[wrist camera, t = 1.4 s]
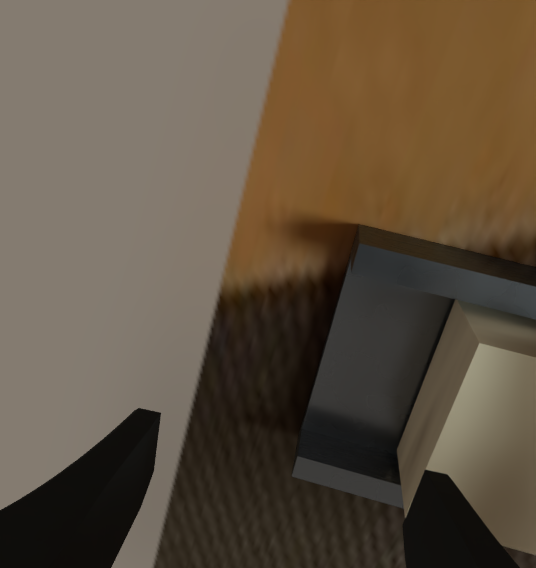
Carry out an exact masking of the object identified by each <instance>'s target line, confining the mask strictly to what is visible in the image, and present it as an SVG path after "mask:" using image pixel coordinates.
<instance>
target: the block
mask: <svg viewBox="0 0 536 568" xmlns="http://www.w3.org/2000/svg"><path fill="white" fill-rule="evenodd" d="M397 456H398V464H399V472H400V480H401V488H402V497H403V505H404V513H405V518H406V515H407V513H408V510H409V508H410V506H411V503H412V501H413V498H414V496H415V493H416V491H417V488H418V486H419V483H420V481H421V478H422V476H423V473H424V471H425V470H430V471H435V472H439V473H444V474H448V475H449V477H450V478H451V479H452V480H453V482H454V483H455V484H456V486H457V487H458V488H459V490H460V491H461V492H462V494H463V495H464V497H465V498H466V499H467V501H468V502H469V503H470V505H471V506H472V507H473V509H474V510H475V511H476V513H477V514H478V515H479V517H480V518H481V519H482V521H483V522H484V523H485V525H486V526H487V527H488V529H489V530H490V531H491V533H492V534H493V535H494V536H495V538H496V539H497V540H498V542H499V543H500V544H501V545H502V546H506V547H509V548H513V549H516V550H520V551H523V552H527V553H530V554H534V555H536V319H532V318H528V317H524V316H520V315H516V314H512V313H508V312H504V311H500V310H496V309H492V308H488V307H484V306H480V305H476V304H472V303H468V302H464V301H460V300H456V299H455V302H454V304H453V307H452V309H451V312H450V315H449V317H448V320H447V322H446V325H445V327H444V330H443V333H442V335H441V338H440V340H439V343H438V345H437V348H436V351H435V353H434V356H433V358H432V361H431V363H430V366H429V369H428V371H427V374H426V376H425V379H424V381H423V384H422V387H421V389H420V392H419V394H418V397H417V399H416V402H415V404H414V407H413V410H412V412H411V415H410V417H409V420H408V422H407V425H406V428H405V430H404V433H403V435H402V438H401V440H400V443H399V446H398V448H397Z"/></svg>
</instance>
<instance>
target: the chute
mask: <svg viewBox="0 0 536 568" xmlns="http://www.w3.org/2000/svg"><path fill="white" fill-rule="evenodd" d="M455 299H456V300H460V301H464V302H468V303H472V304H476V305H480V306H484V307H488V308H492V309H496V310H500V311H504V312H508V313H512V314H516V315H520V316H524V317H528V318H532V319H536V267H533V266H529V265H525V264H520V263H516V262H512V261H508V260H504V259H500V258H496V257H492V256H488V255H483V254H479V253H475V252H471V251H467V250H463V249H459V248H455V247H450V246H446V245H442V244H438V243H434V242H430V241H426V240H422V239H418V238H413V237H409V236H405V235H401V234H397V233H393V232H389V231H385V230H380V229H376V228H372V227H368V226H364V225H360V224H359V225H358V229H357V232H356V236H355V239H354V243H353V246H352V250H351V253H350V257H349V260H348V264H347V267H346V271H345V274H344V278H343V281H342V285H341V288H340V292H339V295H338V299H337V302H336V306H335V309H334V313H333V316H332V320H331V323H330V327H329V330H328V334H327V337H326V341H325V344H324V348H323V351H322V355H321V358H320V362H319V365H318V369H317V372H316V376H315V379H314V383H313V386H312V390H311V393H310V396H309V400H308V403H307V407H306V410H305V414H304V417H303V421H302V424H301V428H300V431H299V435H298V441H297V447H296V453H295V459H294V465H293V471H292V477H295V478H299V479H302V480H306V481H309V482H313V483H316V484H320V485H323V486H327V487H330V488H334V489H337V490H341V491H344V492H348V493H351V494H355V495H358V496H362V497H365V498H369V499H372V500H376V501H379V502H382V503H386V504H389V505H393V506H396V507H400V508H403V509H404V505H403V497H402V488H401V480H400V472H399V464H398V456H397V448H398V446H399V443H400V440H401V438H402V435H403V433H404V430H405V428H406V425H407V422H408V420H409V417H410V415H411V412H412V410H413V407H414V404H415V402H416V399H417V397H418V394H419V392H420V389H421V387H422V384H423V381H424V379H425V376H426V374H427V371H428V369H429V366H430V363H431V361H432V358H433V356H434V353H435V351H436V348H437V345H438V343H439V340H440V338H441V335H442V333H443V330H444V327H445V325H446V322H447V320H448V317H449V315H450V312H451V309H452V307H453V304H454V302H455Z"/></svg>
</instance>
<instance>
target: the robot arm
mask: <svg viewBox="0 0 536 568" xmlns="http://www.w3.org/2000/svg"><path fill="white" fill-rule="evenodd" d="M160 415H161V413H159V412H155V411H150V410H145V409H141V408H138V409H137V410H135V411H134V412H133V413H132V414H130V415H129V416H128V417H127V418H126V419H125V420H124V421H123V422H122V423H121V424H120V425H119V426H117V427H116V428H115V429H114V430H113V431H112V432H111V433H110V434H108V435H107V436H106V437H105V438H104V439H103V440H101V441H100V442H99V443H98V444H96V445H95V446H94V447H93V448H92V449H90V450H89V451H88V452H87V453H86V454H84V455H83V456H82V457H80V458H79V459H78V460H77V461H75V462H74V463H73V464H71V465H70V466H69V467H67V468H66V469H64V470H63V471H62V472H60V473H59V474H57V475H56V476H55V477H53V478H52V479H50V480H49V481H47V482H46V483H44V484H43V485H41V486H40V487H38V488H37V489H35V490H34V491H32V492H30V493H29V494H27V495H26V496H24V497H22V498H21V499H19V500H18V501H16V502H14V503H12V504H11V505H9V506H7V507H5V508H4V509H2V510H0V568H111V567H112V565H113V563H114V561H115V559H116V557H117V554H118V553H119V551H120V548H121V546H122V544H123V542H124V540H125V538H126V536H127V534H128V532H129V530H130V528H131V526H132V524H133V522H134V520H135V518H136V516H137V514H138V512H139V510H140V508H141V505H142V502H143V499H144V497H145V494H146V491H147V488H148V486H149V483H150V480H151V477H152V475H153V472H154V465H155V457H156V448H157V440H158V432H159V424H160ZM403 536H404V550H405V560H406V568H520V567H519V566H518V565H517V564H516V563H515V562H514V560H513V559H512V558H511V557H510V555H509V554H508V553H507V552H506V550H505V549H504V548H503V547H502V545H501V544H500V543H499V542H498V540H497V539H496V538H495V536H494V535H493V534H492V533H491V531H490V530H489V529H488V527H487V526H486V525H485V523H484V522H483V521H482V519H481V518H480V517H479V515H478V514H477V513H476V511H475V510H474V509H473V507H472V506H471V505H470V503H469V502H468V501H467V499H466V498H465V497H464V495H463V494H462V492H461V491H460V490H459V488H458V487H457V486H456V484H455V483H454V482H453V480H452V479H451V478H450V477H449V475H448V474H444V473H439V472H435V471H430V470H425V471H424V473H423V476H422V478H421V481H420V483H419V486H418V488H417V491H416V493H415V496H414V498H413V501H412V503H411V506H410V508H409V510H408V513H407V515H406V518H405V520H404V523H403Z"/></svg>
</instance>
